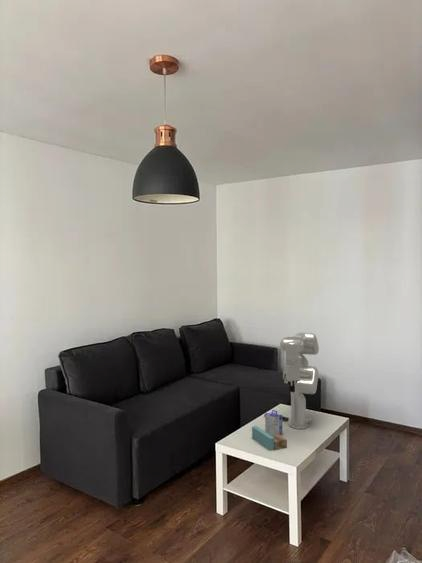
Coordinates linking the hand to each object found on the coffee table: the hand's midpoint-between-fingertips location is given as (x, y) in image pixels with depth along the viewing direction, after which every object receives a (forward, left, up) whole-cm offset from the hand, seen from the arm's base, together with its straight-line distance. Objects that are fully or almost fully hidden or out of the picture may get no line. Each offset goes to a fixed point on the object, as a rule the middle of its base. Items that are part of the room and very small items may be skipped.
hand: (292, 391), depth 258 cm
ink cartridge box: (+6, -11, -29) cm, 32 cm away
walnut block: (+14, +5, -29) cm, 33 cm away
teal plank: (+20, -2, -29) cm, 35 cm away
